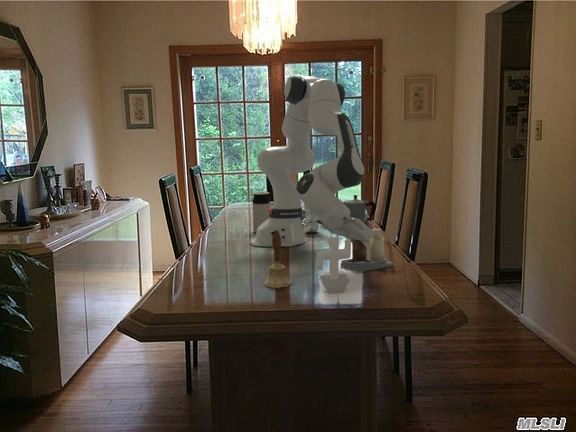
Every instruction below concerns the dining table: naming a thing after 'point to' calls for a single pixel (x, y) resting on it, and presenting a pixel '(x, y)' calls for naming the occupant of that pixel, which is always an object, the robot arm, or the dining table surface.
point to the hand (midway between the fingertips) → (360, 243)
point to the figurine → (334, 265)
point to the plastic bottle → (310, 221)
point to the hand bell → (277, 266)
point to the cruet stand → (375, 256)
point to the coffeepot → (359, 208)
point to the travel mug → (260, 209)
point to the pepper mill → (358, 251)
